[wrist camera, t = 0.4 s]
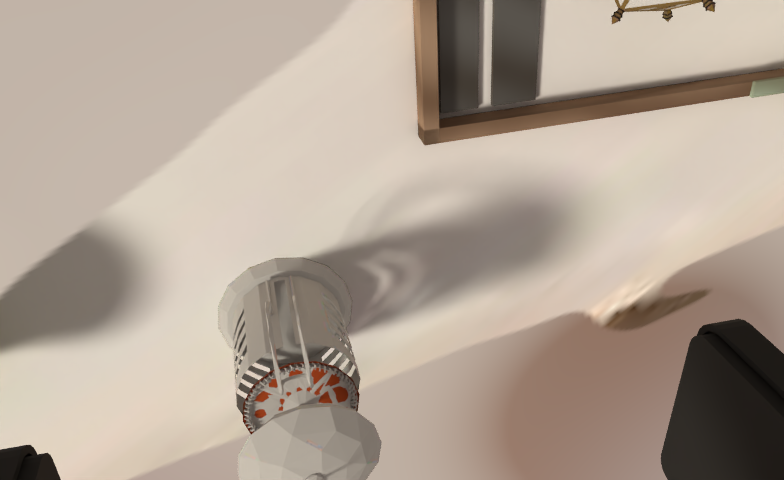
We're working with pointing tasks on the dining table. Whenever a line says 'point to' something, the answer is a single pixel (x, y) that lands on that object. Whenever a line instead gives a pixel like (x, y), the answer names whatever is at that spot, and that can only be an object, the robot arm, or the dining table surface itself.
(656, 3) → the game die
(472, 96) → the shallow open box
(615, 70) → the dining table surface
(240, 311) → the french press
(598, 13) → the dining table surface
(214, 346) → the dining table surface
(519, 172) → the dining table surface
